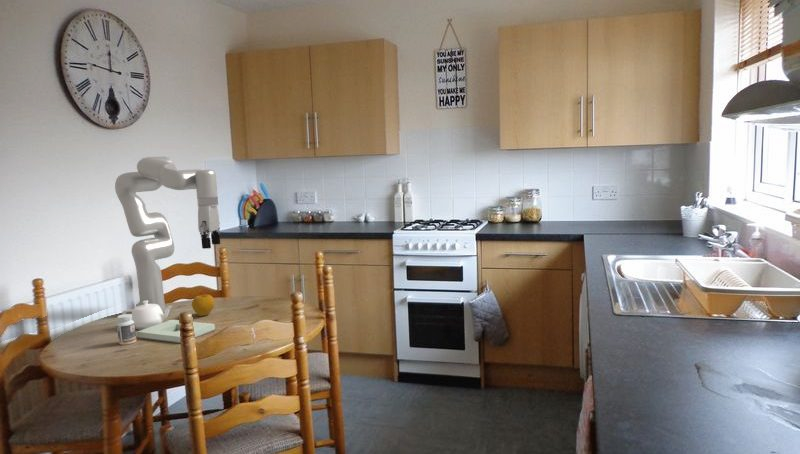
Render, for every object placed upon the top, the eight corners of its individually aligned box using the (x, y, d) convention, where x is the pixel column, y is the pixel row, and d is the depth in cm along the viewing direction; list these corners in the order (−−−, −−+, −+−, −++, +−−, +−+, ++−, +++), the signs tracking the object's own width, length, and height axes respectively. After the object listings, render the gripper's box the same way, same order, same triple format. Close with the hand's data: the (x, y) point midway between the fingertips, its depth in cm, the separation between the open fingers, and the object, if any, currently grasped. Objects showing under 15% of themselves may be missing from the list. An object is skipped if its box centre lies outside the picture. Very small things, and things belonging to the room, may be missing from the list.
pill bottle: (139, 339, 207) (136, 313, 206) (130, 345, 201) (127, 317, 200) (124, 340, 208) (121, 313, 206) (115, 345, 202) (112, 318, 201)
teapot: (181, 320, 231) (178, 295, 229) (167, 329, 218) (164, 303, 217) (132, 322, 231) (129, 298, 230) (116, 332, 219) (113, 306, 218)
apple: (206, 319, 230) (204, 297, 229) (188, 318, 233) (185, 296, 232) (220, 312, 239) (218, 291, 238) (202, 312, 242) (200, 291, 241)
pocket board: (137, 338, 209) (136, 331, 209) (172, 325, 224) (171, 319, 223) (181, 343, 200) (181, 337, 199) (215, 330, 214) (214, 323, 214)
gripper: (207, 200, 229) (210, 243, 231) (188, 204, 212) (192, 250, 214) (225, 199, 228) (228, 242, 231) (208, 203, 211) (212, 249, 214)
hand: (211, 246), depth 222 cm, fingers open, 9 cm apart
